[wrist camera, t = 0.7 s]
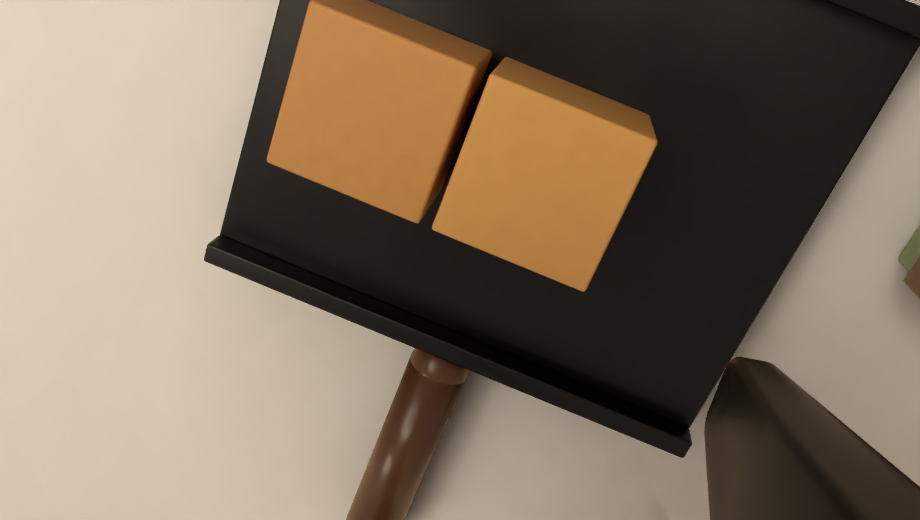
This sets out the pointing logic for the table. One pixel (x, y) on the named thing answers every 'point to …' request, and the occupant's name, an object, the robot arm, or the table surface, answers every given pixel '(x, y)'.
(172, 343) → the table surface
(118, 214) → the table surface
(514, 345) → the griddle
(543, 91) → the block
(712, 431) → the robot arm
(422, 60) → the orange square block
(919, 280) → the scrub brush
